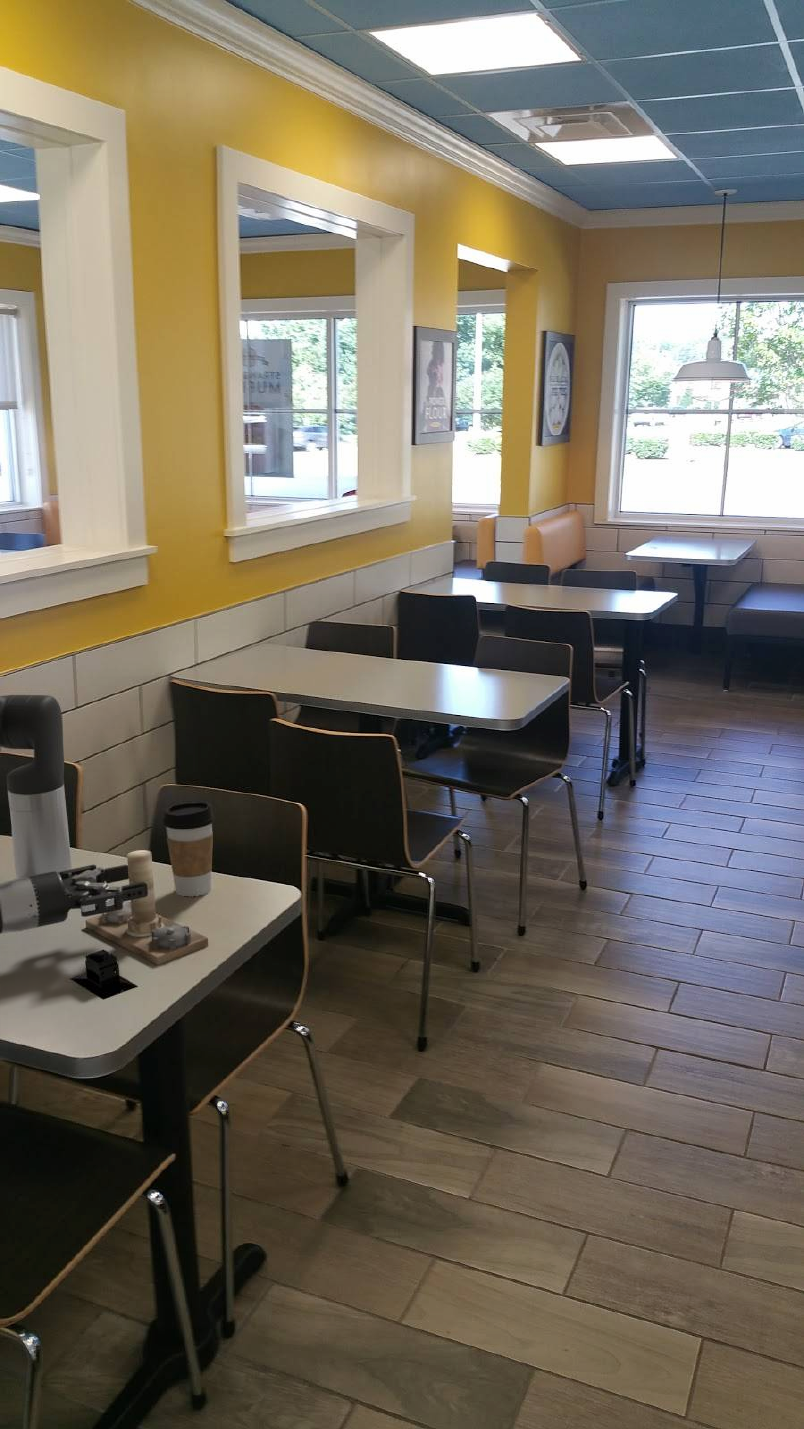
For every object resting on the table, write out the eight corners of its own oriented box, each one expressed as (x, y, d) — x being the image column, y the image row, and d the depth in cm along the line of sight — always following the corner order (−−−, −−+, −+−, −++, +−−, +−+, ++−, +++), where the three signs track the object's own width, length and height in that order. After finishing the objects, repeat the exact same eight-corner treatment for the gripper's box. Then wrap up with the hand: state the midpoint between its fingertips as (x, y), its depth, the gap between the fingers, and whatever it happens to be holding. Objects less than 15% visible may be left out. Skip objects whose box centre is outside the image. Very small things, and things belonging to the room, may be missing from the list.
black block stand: (149, 991, 160) (146, 961, 159) (102, 1009, 155) (99, 978, 154) (103, 964, 168) (101, 935, 167) (57, 980, 164) (55, 951, 162)
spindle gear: (122, 928, 176) (116, 854, 174) (148, 918, 180) (143, 846, 177) (140, 937, 173) (134, 862, 170) (166, 927, 176) (161, 854, 173)
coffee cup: (208, 901, 190) (202, 815, 186) (160, 898, 191) (154, 813, 188) (225, 882, 198) (220, 799, 194) (179, 880, 199) (173, 797, 196)
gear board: (85, 927, 180) (84, 907, 180) (135, 910, 187) (133, 891, 186) (157, 964, 167) (156, 943, 166) (208, 945, 173) (207, 925, 172)
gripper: (38, 894, 159) (151, 870, 167) (15, 863, 171) (121, 843, 179) (43, 943, 161) (155, 918, 169) (20, 910, 173) (125, 888, 181)
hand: (137, 879), depth 174 cm, fingers open, 8 cm apart
